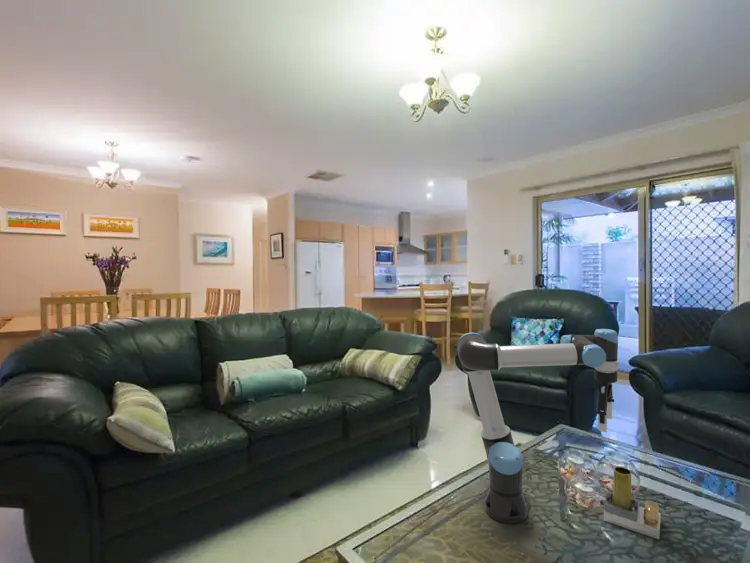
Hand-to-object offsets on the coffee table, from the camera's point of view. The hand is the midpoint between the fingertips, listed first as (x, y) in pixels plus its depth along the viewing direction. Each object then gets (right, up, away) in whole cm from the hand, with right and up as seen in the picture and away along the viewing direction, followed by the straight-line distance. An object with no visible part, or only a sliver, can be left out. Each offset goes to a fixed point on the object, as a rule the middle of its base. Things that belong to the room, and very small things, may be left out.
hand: (605, 424), depth 151 cm
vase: (0, -26, -11) cm, 28 cm away
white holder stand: (+2, -30, -12) cm, 32 cm away
